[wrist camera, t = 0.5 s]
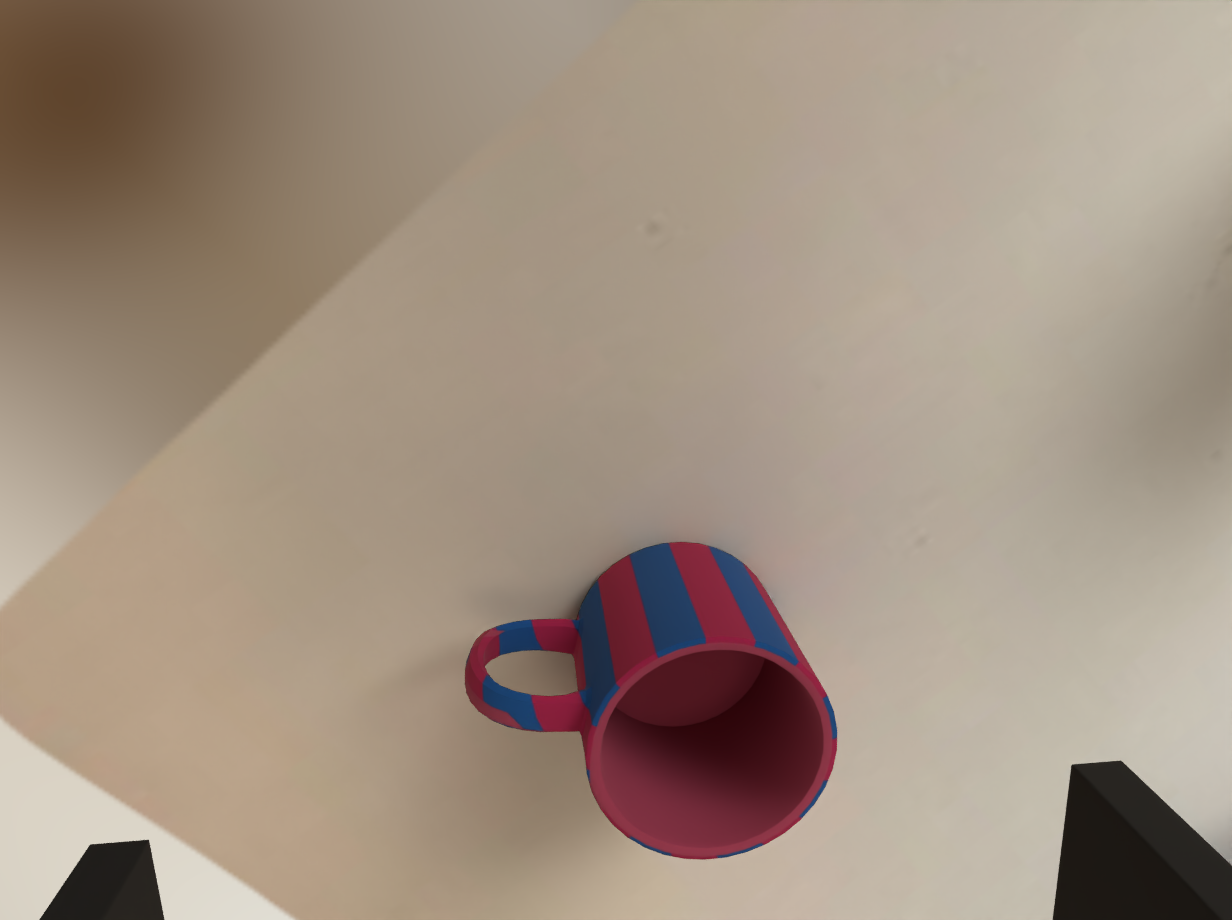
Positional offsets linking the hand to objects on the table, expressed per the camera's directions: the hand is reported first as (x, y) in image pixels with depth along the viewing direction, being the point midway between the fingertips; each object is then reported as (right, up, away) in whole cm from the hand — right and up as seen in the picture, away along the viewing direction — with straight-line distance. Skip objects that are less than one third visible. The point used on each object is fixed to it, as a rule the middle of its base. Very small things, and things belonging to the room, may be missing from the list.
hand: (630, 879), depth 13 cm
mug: (0, +1, +18) cm, 18 cm away
